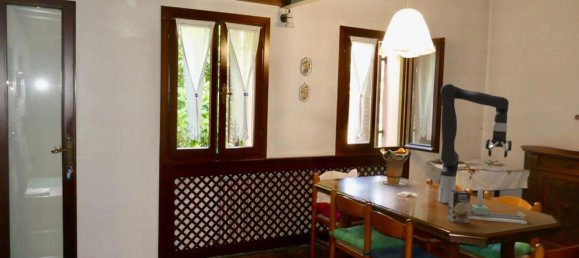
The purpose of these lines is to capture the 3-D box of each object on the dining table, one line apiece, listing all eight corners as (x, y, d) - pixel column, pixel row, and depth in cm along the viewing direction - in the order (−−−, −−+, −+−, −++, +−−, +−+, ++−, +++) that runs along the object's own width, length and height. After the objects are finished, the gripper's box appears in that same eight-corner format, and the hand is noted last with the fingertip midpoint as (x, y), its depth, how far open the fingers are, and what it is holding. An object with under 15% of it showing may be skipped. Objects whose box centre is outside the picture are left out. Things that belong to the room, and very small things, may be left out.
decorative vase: (371, 181, 344) (375, 145, 342) (394, 181, 355) (398, 146, 353) (389, 186, 325) (394, 148, 324) (413, 186, 336) (417, 149, 335)
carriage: (474, 213, 247) (476, 189, 246) (471, 210, 254) (473, 187, 253) (487, 214, 246) (489, 190, 245) (484, 211, 252) (486, 188, 251)
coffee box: (451, 222, 236) (454, 192, 235) (447, 218, 242) (449, 189, 241) (468, 222, 236) (471, 193, 235) (463, 219, 243) (465, 190, 241)
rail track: (468, 218, 245) (469, 211, 245) (463, 213, 257) (464, 206, 256) (526, 224, 240) (527, 216, 240) (519, 218, 252) (519, 211, 252)
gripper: (489, 130, 266) (486, 156, 267) (514, 131, 264) (512, 158, 265) (485, 129, 273) (483, 155, 275) (510, 130, 271) (508, 157, 272)
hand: (497, 156), depth 270 cm, fingers open, 8 cm apart
